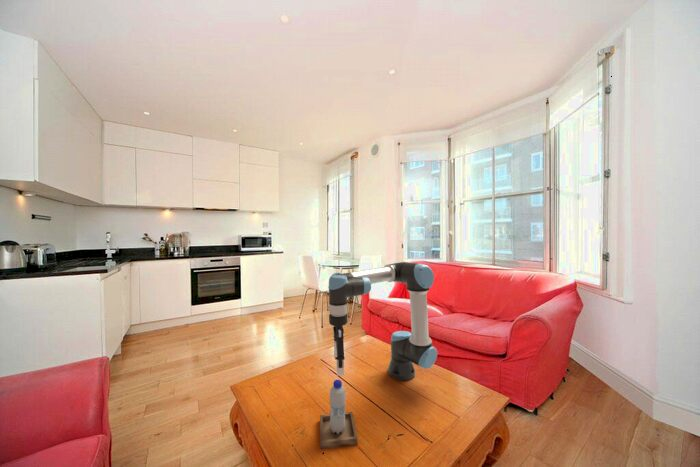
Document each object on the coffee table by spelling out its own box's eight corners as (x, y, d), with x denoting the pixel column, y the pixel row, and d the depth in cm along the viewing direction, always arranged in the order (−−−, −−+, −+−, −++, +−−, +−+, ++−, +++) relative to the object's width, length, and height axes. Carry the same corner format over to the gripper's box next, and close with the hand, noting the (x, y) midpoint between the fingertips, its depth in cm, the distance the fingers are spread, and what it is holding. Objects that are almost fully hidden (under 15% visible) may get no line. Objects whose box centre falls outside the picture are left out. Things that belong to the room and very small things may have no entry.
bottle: (329, 424, 103) (329, 376, 103) (345, 422, 104) (345, 375, 104) (329, 437, 96) (329, 386, 96) (346, 436, 97) (346, 385, 97)
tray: (352, 417, 108) (352, 411, 108) (357, 444, 94) (357, 438, 94) (320, 420, 106) (320, 415, 106) (320, 448, 92) (320, 442, 92)
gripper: (327, 305, 112) (328, 351, 113) (330, 325, 88) (331, 384, 88) (343, 304, 113) (344, 350, 114) (351, 324, 89) (352, 383, 89)
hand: (338, 365), depth 101 cm, fingers open, 13 cm apart
